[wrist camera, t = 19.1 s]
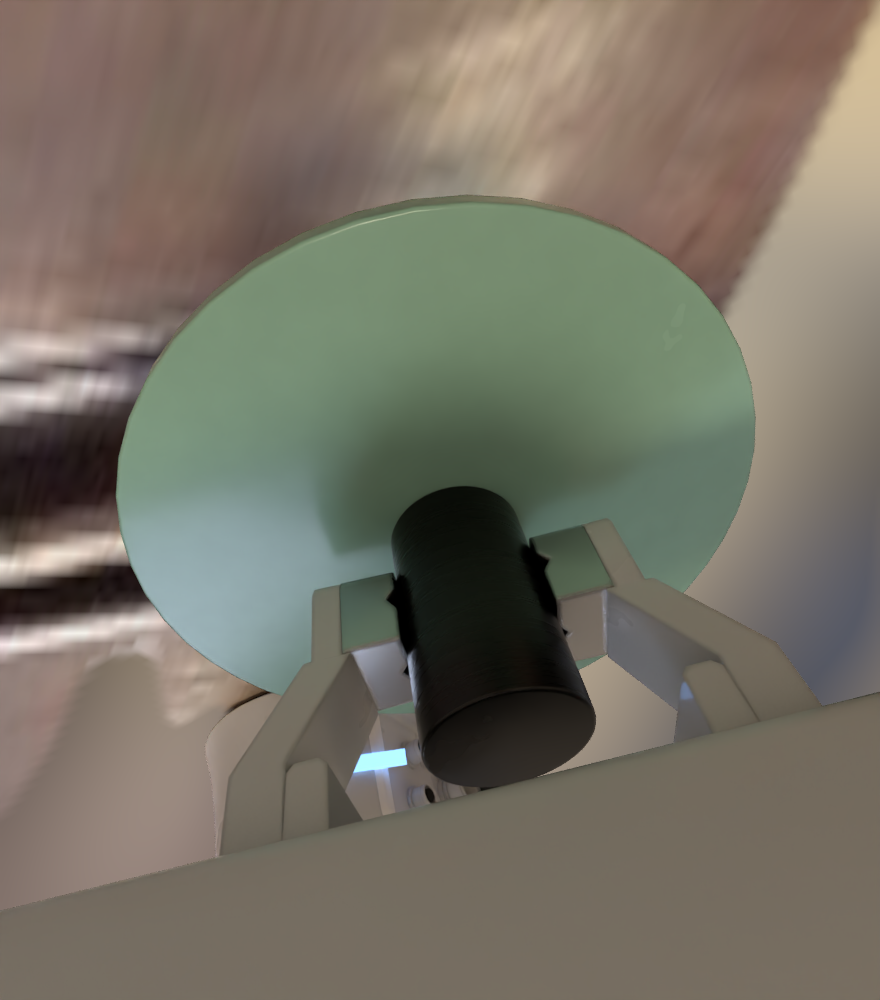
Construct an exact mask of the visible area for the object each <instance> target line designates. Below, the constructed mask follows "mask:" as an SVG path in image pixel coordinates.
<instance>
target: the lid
mask: <svg viewBox="0 0 880 1000" xmlns="http://www.w3.org/2000/svg"><path fill="white" fill-rule="evenodd" d="M754 440H755V410H754V402H753V394H752V386H751V381H750V378H749V375H748V372H747V368H746V365H745V362H744V359H743V356H742V352H741V349H740V347H739V345H738V343H737V341H736V340H735V338H734V336H733V334H732V332H731V330H730V328H729V326H728V325H727V323H726V321H725V319H724V317H723V315H722V314H721V313H720V312H719V310H718V309H717V308H716V307H715V305H714V304H713V303H712V302H711V300H710V299H709V298H708V297H707V295H706V294H705V293H704V292H703V290H702V289H701V288H700V287H699V285H698V284H696V283H695V282H694V281H693V280H692V279H691V278H689V277H688V276H687V275H686V274H685V273H684V272H683V271H681V270H680V269H679V268H678V267H677V266H676V265H674V264H673V263H672V262H671V261H670V260H669V259H667V258H666V257H665V256H664V255H662V254H661V253H659V252H658V251H657V250H655V249H653V248H652V247H650V246H648V245H647V244H645V243H643V242H642V241H640V240H638V239H637V238H635V237H633V236H632V235H630V234H628V233H627V232H625V231H623V230H621V229H620V228H618V227H616V226H614V225H611V224H609V223H606V222H603V221H601V220H598V219H596V218H593V217H591V216H588V215H585V214H583V213H580V212H578V211H575V210H573V209H569V208H564V207H559V206H555V205H550V204H546V203H541V202H536V201H532V200H527V199H522V198H510V197H494V196H477V195H459V196H447V197H435V198H423V199H411V200H407V201H402V202H398V203H394V204H389V205H385V206H381V207H376V208H372V209H368V210H363V211H359V212H355V213H352V214H350V215H347V216H345V217H342V218H339V219H337V220H334V221H332V222H329V223H326V224H324V225H321V226H319V227H316V228H313V229H311V230H308V231H306V232H303V233H301V234H299V235H297V236H296V237H294V238H292V239H290V240H289V241H287V242H285V243H283V244H281V245H280V246H278V247H276V248H274V249H272V250H271V251H269V252H267V253H265V254H264V255H262V256H260V257H258V258H256V259H255V260H253V261H252V262H251V263H249V264H248V265H247V266H246V267H244V268H243V269H242V270H240V271H239V272H238V273H236V274H235V275H234V276H233V277H231V278H230V279H229V280H227V281H226V282H225V283H224V284H222V285H221V286H220V287H218V288H217V289H216V290H214V291H213V292H212V293H211V294H210V295H209V296H208V297H207V298H206V299H205V300H204V302H203V303H202V304H201V305H200V306H199V307H198V308H197V309H196V310H195V311H194V312H193V313H192V314H191V315H190V316H189V317H188V318H187V319H186V321H185V322H184V323H183V324H182V325H181V326H180V327H179V328H178V329H177V331H176V332H175V334H174V335H173V337H172V338H171V340H170V341H169V342H168V344H167V345H166V347H165V348H164V350H163V351H162V353H161V354H160V356H159V357H158V359H157V360H156V362H155V363H154V364H153V366H152V368H151V370H150V372H149V374H148V376H147V379H146V381H145V383H144V385H143V387H142V390H141V392H140V394H139V396H138V398H137V401H136V403H135V405H134V407H133V409H132V412H131V414H130V416H129V418H128V422H127V426H126V430H125V434H124V438H123V442H122V446H121V450H120V453H119V457H118V472H117V487H116V500H117V509H118V517H119V526H120V532H121V535H122V539H123V542H124V545H125V549H126V552H127V555H128V558H129V562H130V565H131V567H132V569H133V571H134V573H135V575H136V577H137V579H138V581H139V583H140V585H141V587H142V589H143V591H144V593H145V594H146V596H147V597H148V599H149V600H150V601H151V603H152V604H153V605H154V607H155V608H156V610H157V611H158V612H159V614H160V615H161V616H162V618H163V619H164V620H165V621H166V622H167V623H168V625H169V626H170V627H171V628H172V629H173V630H174V631H175V632H176V633H177V634H178V635H179V636H180V637H181V638H182V639H183V640H184V641H185V642H186V643H187V644H189V645H190V646H191V647H193V648H194V649H195V650H196V651H198V652H199V653H200V654H202V655H203V656H204V657H205V658H207V659H208V660H209V661H211V662H212V663H214V664H215V665H217V666H219V667H220V668H222V669H224V670H225V671H227V672H229V673H231V674H232V675H234V676H236V677H237V678H239V679H242V680H244V681H246V682H248V683H250V684H252V685H255V686H257V687H259V688H261V689H263V690H266V691H269V692H272V693H274V694H277V695H280V696H283V694H284V693H285V691H286V690H287V688H288V687H289V685H290V684H291V682H292V681H293V679H294V678H295V676H296V675H297V673H298V672H299V670H300V669H301V667H302V666H303V664H306V663H309V662H311V638H312V596H313V593H314V590H317V589H321V588H326V587H330V586H335V585H340V584H341V583H346V582H350V581H355V580H359V579H364V578H368V577H373V576H377V575H382V574H386V573H391V572H393V573H394V576H395V578H396V582H397V589H398V595H399V602H400V612H401V619H402V625H403V631H404V638H405V645H406V652H407V661H408V668H409V675H410V682H411V689H412V696H413V702H409V703H406V704H402V705H399V706H395V707H391V708H388V709H384V710H381V711H378V713H381V714H403V713H415V718H416V725H417V732H418V739H419V746H420V753H421V759H422V761H423V764H424V765H425V767H426V768H427V769H428V771H429V772H430V773H431V774H432V775H434V776H435V777H437V778H438V779H440V780H442V781H445V782H447V783H451V784H454V785H459V786H465V787H496V786H504V785H508V784H512V783H516V782H520V781H524V780H528V779H532V778H535V777H538V776H540V775H543V774H545V773H547V772H549V771H552V770H554V769H555V768H557V767H559V766H561V765H562V764H564V763H566V762H567V761H569V760H570V759H571V758H573V757H574V756H575V755H576V754H578V753H579V752H580V751H581V750H582V749H583V748H584V747H585V745H586V744H587V743H588V741H589V740H590V738H591V737H592V735H593V732H594V730H595V725H596V715H595V712H594V708H593V706H592V703H591V700H590V698H589V696H588V693H587V690H586V688H585V685H584V683H583V680H582V678H581V676H580V673H579V669H581V668H584V667H586V666H587V665H589V664H591V663H593V662H595V661H596V660H598V659H600V658H601V657H603V656H605V655H602V656H597V657H593V658H588V659H584V660H579V661H575V660H574V658H573V655H572V653H571V650H570V648H569V645H568V643H567V640H566V638H565V635H564V633H563V630H562V628H561V625H560V623H559V621H558V618H557V616H556V613H555V611H554V608H553V606H552V603H551V601H550V598H549V596H548V593H547V591H546V588H545V585H544V582H543V580H542V577H541V575H540V573H539V571H538V568H537V566H536V563H535V561H534V558H533V555H532V553H531V550H530V548H529V538H531V537H535V536H539V535H542V534H546V533H550V532H554V531H558V530H562V529H566V528H570V527H574V526H577V525H580V526H581V524H585V523H589V522H593V521H597V520H601V519H604V518H608V519H609V520H611V521H612V523H613V525H614V526H615V528H616V530H617V531H618V533H619V535H620V537H621V538H622V540H623V542H624V543H625V545H626V547H627V549H628V550H629V552H630V554H631V555H632V557H633V559H634V560H635V562H636V564H637V566H638V567H639V569H640V571H641V572H642V574H643V576H644V578H645V579H649V578H655V579H657V580H659V581H661V582H663V583H665V584H667V585H669V586H671V587H672V588H674V589H676V590H678V591H680V592H682V593H684V592H685V591H686V589H687V588H688V587H689V586H690V584H691V583H692V582H693V581H694V580H695V579H696V577H697V576H698V575H699V574H700V573H701V571H702V570H703V569H704V568H705V566H706V565H707V564H708V562H709V561H710V559H711V558H712V556H713V554H714V553H715V551H716V550H717V548H718V547H719V545H720V544H721V542H722V541H723V539H724V537H725V535H726V533H727V531H728V529H729V527H730V525H731V523H732V521H733V519H734V517H735V515H736V513H737V511H738V508H739V506H740V503H741V500H742V497H743V494H744V491H745V488H746V485H747V483H748V479H749V473H750V468H751V463H752V458H753V453H754V442H755V441H754Z"/></svg>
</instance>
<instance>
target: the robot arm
mask: <svg viewBox="0 0 880 1000" xmlns="http://www.w3.org/2000/svg"><path fill="white" fill-rule="evenodd" d="M529 548H530V550H531V553H532V555H533V558H534V561H535V563H536V566H537V568H538V571H539V573H540V575H541V577H542V580H543V582H544V585H545V588H546V591H547V593H548V596H549V598H550V601H551V603H552V606H553V608H554V611H555V613H556V616H557V618H558V621H559V623H560V625H561V628H562V630H563V633H564V635H565V638H566V640H567V643H568V645H569V648H570V650H571V653H572V655H573V658H574V660H575V661H579V660H584V659H588V658H593V657H597V656H602V655H607V654H608V657H609V658H610V659H612V660H613V661H615V662H616V663H617V664H618V665H619V666H621V667H622V668H623V669H624V670H626V671H627V672H628V673H630V674H631V675H632V676H633V677H635V678H636V679H637V680H638V681H640V682H641V683H642V684H644V685H645V686H646V687H647V688H649V689H650V690H651V691H652V692H654V693H655V694H656V695H658V696H659V697H660V698H661V699H663V700H664V701H665V702H667V703H668V704H669V705H670V706H672V707H673V708H674V709H675V710H677V711H678V713H677V721H676V729H675V736H674V743H672V744H668V745H664V746H660V747H656V748H652V749H648V750H644V751H640V752H636V753H632V754H628V755H624V756H620V757H616V758H612V759H608V760H604V761H600V762H596V763H592V764H588V765H584V766H580V767H576V768H572V769H568V770H564V771H560V772H556V773H552V774H548V775H544V776H540V777H536V778H532V779H528V780H524V781H520V782H516V783H512V784H508V785H504V786H496V787H465V786H459V785H454V784H451V783H447V782H445V781H442V780H440V779H438V778H437V777H435V776H434V775H432V774H431V773H430V772H429V771H428V769H427V768H426V767H425V765H424V764H423V761H422V759H421V753H420V746H419V739H418V732H417V725H416V718H415V713H403V714H381V713H378V711H381V710H384V709H388V708H391V707H395V706H399V705H402V704H406V703H409V702H413V696H412V689H411V682H410V675H409V668H408V661H407V652H406V645H405V638H404V631H403V625H402V619H401V612H400V602H399V595H398V589H397V582H396V578H395V576H394V573H393V572H391V573H386V574H382V575H377V576H373V577H368V578H364V579H359V580H355V581H350V582H346V583H341V584H340V585H335V586H330V587H326V588H321V589H317V590H314V593H313V596H312V638H311V662H309V663H306V664H303V666H302V667H301V669H300V670H299V672H298V673H297V675H296V676H295V678H294V679H293V681H292V682H291V684H290V685H289V687H288V688H287V690H286V691H285V693H284V694H283V696H280V695H277V694H274V693H270V694H267V695H264V696H261V697H258V698H256V699H254V700H251V701H249V702H247V703H245V704H243V705H241V706H239V707H238V708H236V709H234V710H233V711H231V712H230V713H229V714H227V715H226V716H225V717H223V718H222V719H221V720H220V721H219V722H218V723H217V724H216V725H215V727H214V728H213V729H212V731H211V732H210V734H209V736H208V738H207V741H206V745H205V754H206V759H207V763H208V767H209V773H210V778H211V785H212V793H213V804H214V819H215V856H216V857H215V858H211V859H207V860H202V861H198V862H194V863H191V864H187V865H183V866H178V867H174V868H170V869H167V870H162V871H158V872H154V873H150V874H146V875H142V876H138V877H134V878H130V879H126V880H122V881H118V882H114V883H110V884H106V885H102V886H98V887H94V888H90V889H86V890H82V891H78V892H74V893H69V894H66V895H62V896H57V897H54V898H49V899H45V900H42V901H37V902H33V903H29V904H26V905H21V906H17V907H13V908H9V909H5V910H1V911H0V1000H880V692H877V693H873V694H869V695H865V696H861V697H857V698H853V699H849V700H845V701H841V702H837V703H833V704H829V705H825V706H822V705H821V703H820V702H819V701H818V699H817V698H816V696H815V695H814V694H813V692H812V691H811V690H810V688H809V687H808V686H807V684H806V683H805V681H804V680H803V679H802V677H801V676H800V674H799V673H798V672H797V670H796V669H795V668H794V666H793V665H792V663H791V662H790V661H789V659H788V658H787V657H786V655H785V654H784V652H783V651H782V650H781V648H780V647H779V645H778V644H777V643H776V642H775V641H773V640H771V639H769V638H767V637H765V636H763V635H762V634H760V633H758V632H756V631H754V630H752V629H750V628H748V627H746V626H744V625H742V624H741V623H739V622H737V621H735V620H733V619H731V618H729V617H727V616H726V615H724V614H722V613H720V612H718V611H716V610H714V609H712V608H710V607H708V606H707V605H705V604H703V603H701V602H699V601H697V600H695V599H693V598H691V597H689V596H688V595H686V594H684V593H682V592H680V591H678V590H676V589H674V588H672V587H671V586H669V585H667V584H665V583H663V582H661V581H659V580H657V579H655V578H649V579H645V578H644V576H643V574H642V572H641V571H640V569H639V567H638V566H637V564H636V562H635V560H634V559H633V557H632V555H631V554H630V552H629V550H628V549H627V547H626V545H625V543H624V542H623V540H622V538H621V537H620V535H619V533H618V531H617V530H616V528H615V526H614V525H613V523H612V521H611V520H609V519H608V518H604V519H601V520H597V521H593V522H589V523H585V524H581V526H580V525H577V526H574V527H570V528H566V529H562V530H558V531H554V532H550V533H546V534H542V535H539V536H535V537H531V538H529Z"/></svg>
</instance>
